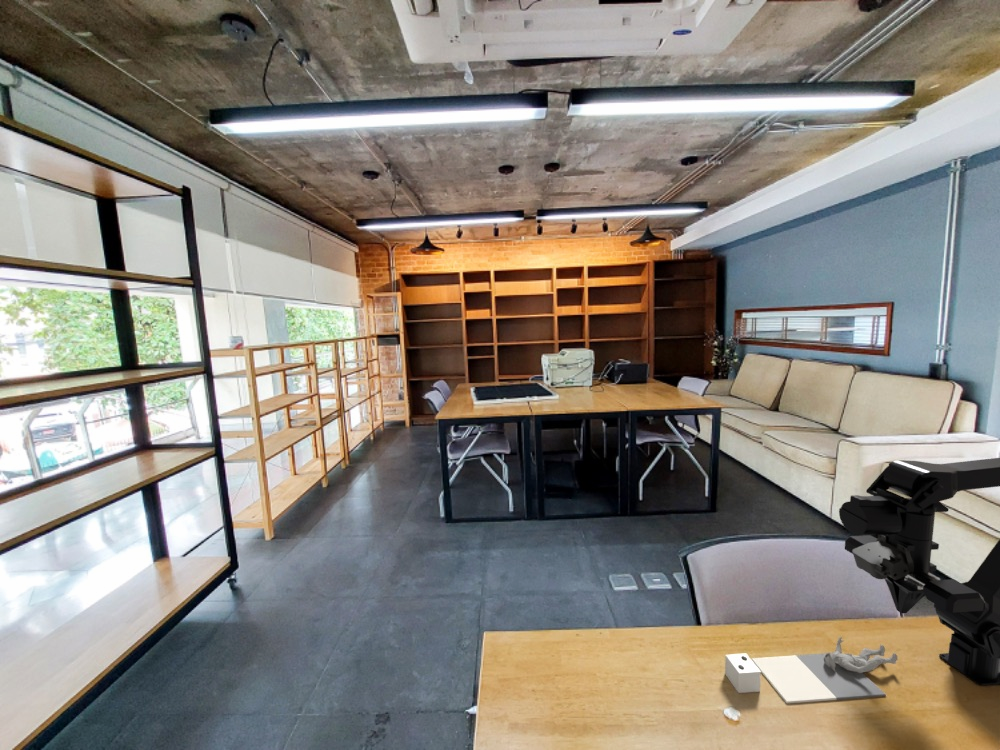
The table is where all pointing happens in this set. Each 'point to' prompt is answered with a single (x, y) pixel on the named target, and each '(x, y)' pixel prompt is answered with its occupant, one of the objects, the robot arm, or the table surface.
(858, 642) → the table surface
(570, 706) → the table surface
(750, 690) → the die
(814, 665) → the board
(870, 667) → the soldier figure
